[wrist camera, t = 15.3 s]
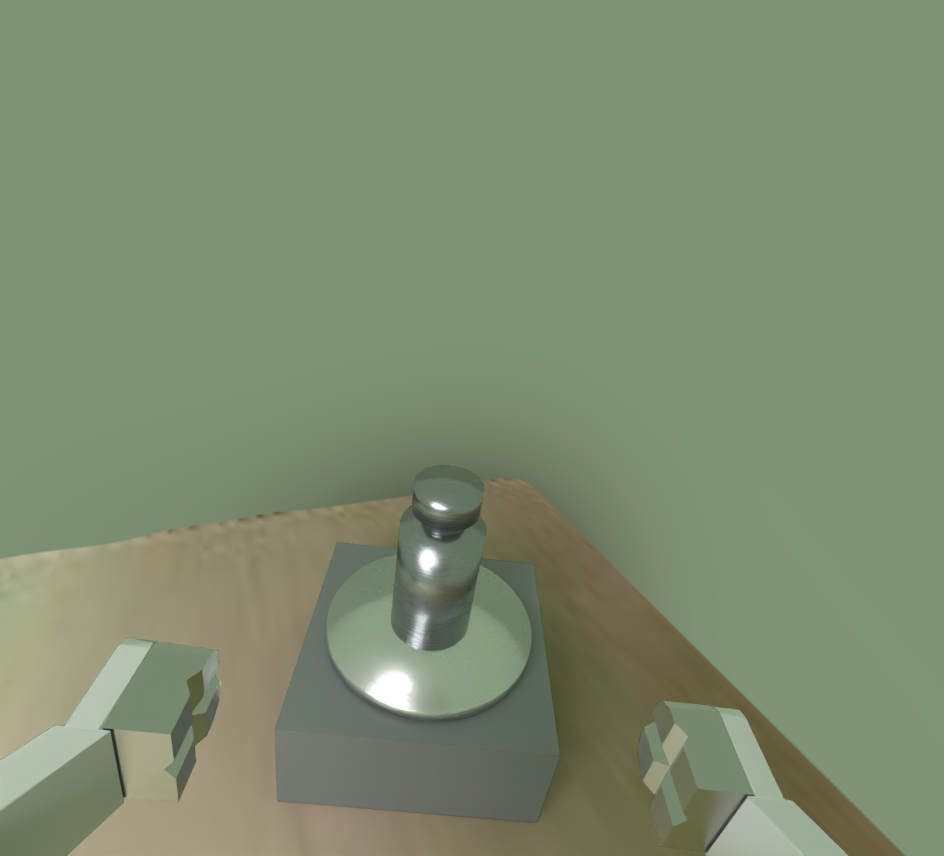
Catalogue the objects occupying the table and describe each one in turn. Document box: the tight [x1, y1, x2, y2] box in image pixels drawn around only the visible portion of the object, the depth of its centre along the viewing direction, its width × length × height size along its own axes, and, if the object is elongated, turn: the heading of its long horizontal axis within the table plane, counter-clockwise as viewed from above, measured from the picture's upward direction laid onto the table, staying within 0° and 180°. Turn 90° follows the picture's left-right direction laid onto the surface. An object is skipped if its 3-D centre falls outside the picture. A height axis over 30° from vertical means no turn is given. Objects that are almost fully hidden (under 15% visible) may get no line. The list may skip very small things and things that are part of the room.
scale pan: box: [326, 554, 532, 722], centre depth 34 cm, size 12×12×1 cm
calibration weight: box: [391, 465, 486, 651], centre depth 31 cm, size 5×5×10 cm
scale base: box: [275, 542, 560, 823], centre depth 36 cm, size 14×15×6 cm
